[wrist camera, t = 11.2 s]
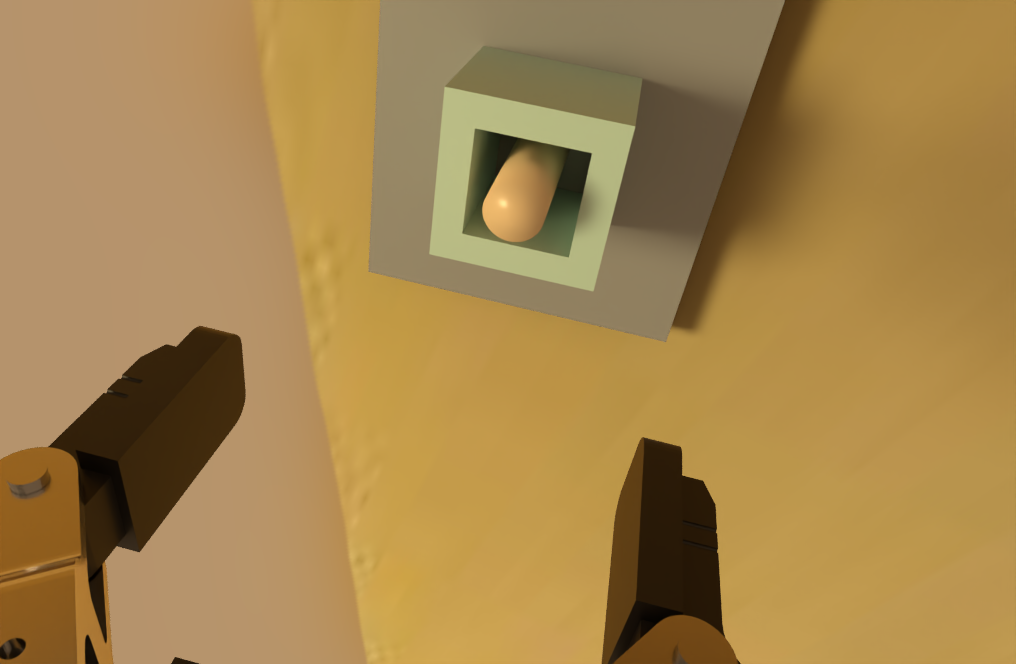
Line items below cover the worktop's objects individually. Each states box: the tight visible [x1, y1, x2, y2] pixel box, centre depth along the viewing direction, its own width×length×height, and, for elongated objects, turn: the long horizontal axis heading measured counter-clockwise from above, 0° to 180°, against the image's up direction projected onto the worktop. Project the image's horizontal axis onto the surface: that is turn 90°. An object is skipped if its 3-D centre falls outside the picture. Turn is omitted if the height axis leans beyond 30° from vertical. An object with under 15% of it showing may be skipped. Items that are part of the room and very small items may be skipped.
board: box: [369, 0, 785, 342], centre depth 26 cm, size 16×14×8 cm
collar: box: [429, 46, 643, 291], centre depth 26 cm, size 6×6×6 cm
